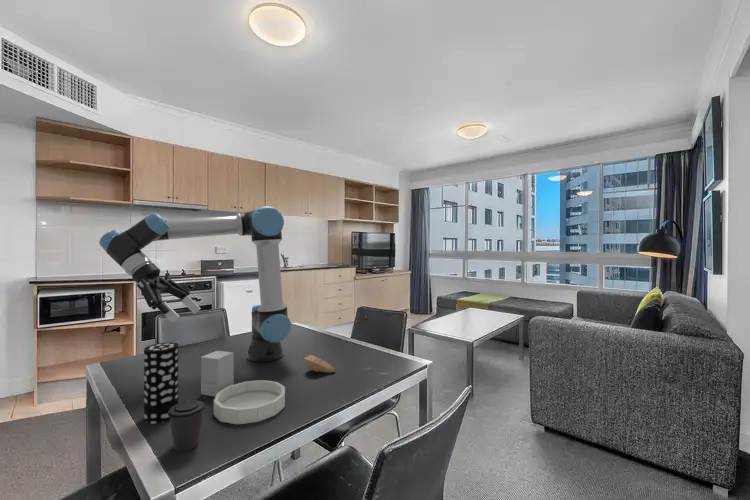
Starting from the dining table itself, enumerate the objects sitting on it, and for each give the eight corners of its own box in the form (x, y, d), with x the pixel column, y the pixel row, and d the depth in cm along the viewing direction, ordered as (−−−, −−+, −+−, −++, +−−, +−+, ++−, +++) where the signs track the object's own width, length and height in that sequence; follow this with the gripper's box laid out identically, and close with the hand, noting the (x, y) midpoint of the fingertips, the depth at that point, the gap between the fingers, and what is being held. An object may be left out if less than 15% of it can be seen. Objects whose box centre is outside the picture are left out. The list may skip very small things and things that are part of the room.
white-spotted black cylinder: (154, 409, 100) (154, 342, 100) (183, 408, 101) (183, 342, 101) (137, 424, 92) (137, 351, 92) (169, 423, 93) (169, 351, 93)
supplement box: (234, 388, 115) (234, 352, 115) (217, 398, 108) (218, 359, 108) (217, 385, 118) (217, 349, 118) (200, 394, 111) (200, 356, 111)
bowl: (243, 389, 115) (243, 377, 115) (296, 396, 110) (296, 384, 110) (198, 417, 96) (198, 404, 96) (260, 428, 91) (260, 413, 91)
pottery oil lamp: (333, 377, 126) (333, 358, 126) (301, 376, 126) (301, 358, 126) (336, 368, 135) (336, 351, 135) (306, 368, 135) (306, 350, 135)
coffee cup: (159, 449, 81) (159, 408, 81) (190, 432, 88) (190, 394, 88) (182, 458, 78) (182, 415, 78) (212, 440, 85) (212, 400, 85)
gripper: (157, 274, 124) (197, 315, 125) (104, 281, 99) (156, 332, 100) (171, 260, 124) (212, 301, 125) (123, 263, 99) (174, 315, 100)
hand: (187, 315), depth 112 cm, fingers open, 13 cm apart
